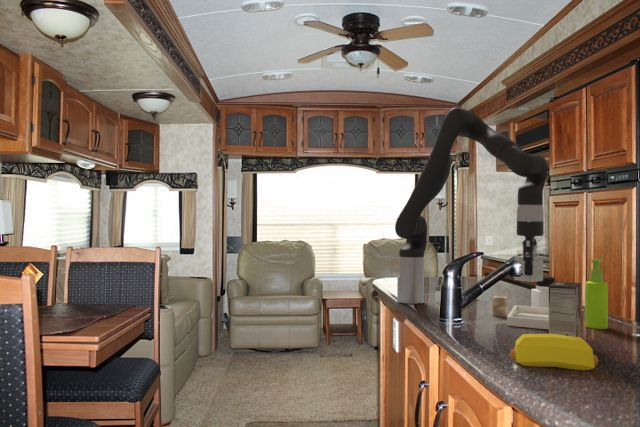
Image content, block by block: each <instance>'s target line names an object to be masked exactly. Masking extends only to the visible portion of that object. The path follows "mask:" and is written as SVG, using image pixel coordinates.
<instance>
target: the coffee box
mask: <svg viewBox="0 0 640 427" xmlns="http://www.w3.org/2000/svg"><path fill="white" fill-rule="evenodd" d="M581 285H582V283H581V282H569V281H568V282H567V281H555V282H553V283H552V284H550V285H549V329H548V334H558V335H565V336H573V337H581V336H582V335H581V332H582V331H581V330H582V329H581V325H582V324H581V322H582V321H581V320H582V318H581V314H582V310H581V307H582V306H581V305H582V304H581V302H582V300H581V299H582V298H581V291H582V290H581V287H582V286H581ZM581 338H582V337H581Z"/></svg>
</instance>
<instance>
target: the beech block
mask: <svg viewBox="0 0 640 427" xmlns="http://www.w3.org/2000/svg"><path fill="white" fill-rule="evenodd" d="M492 316H494V317H504V318H505V317H506V318H507V316H508V296H505V295H494V296H492Z"/></svg>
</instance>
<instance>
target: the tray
mask: <svg viewBox="0 0 640 427" xmlns="http://www.w3.org/2000/svg"><path fill="white" fill-rule="evenodd" d="M506 326H510V327H520V328H528V329H529V328H530V329H531V328H532V329H540V330H541V329H542V330H549V308H543V307H531V305H529V306H528V305H514V306H512V309H511V310H510V312H509V313H507V315H506Z"/></svg>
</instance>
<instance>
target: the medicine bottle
mask: <svg viewBox="0 0 640 427" xmlns="http://www.w3.org/2000/svg"><path fill="white" fill-rule="evenodd" d="M553 282H556V278H555V277H553V276H551V275H550V276H549V275H543V281H537V282H535V288H531V290H530V291H531V294H530V295H531V297H530V298H531V300H530V301H531V302H530V303H531V304H530V306H531V307H543V308H549V285H550V284H552V283H553Z"/></svg>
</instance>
